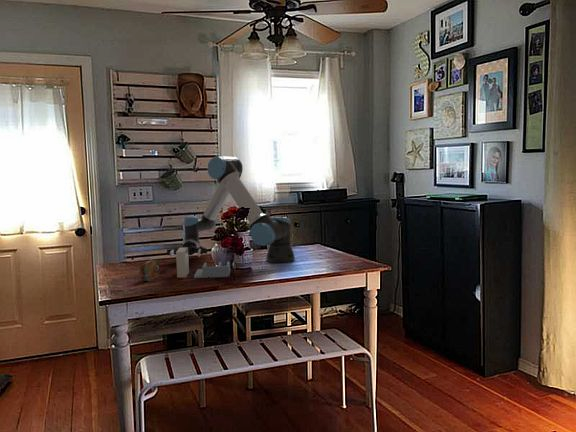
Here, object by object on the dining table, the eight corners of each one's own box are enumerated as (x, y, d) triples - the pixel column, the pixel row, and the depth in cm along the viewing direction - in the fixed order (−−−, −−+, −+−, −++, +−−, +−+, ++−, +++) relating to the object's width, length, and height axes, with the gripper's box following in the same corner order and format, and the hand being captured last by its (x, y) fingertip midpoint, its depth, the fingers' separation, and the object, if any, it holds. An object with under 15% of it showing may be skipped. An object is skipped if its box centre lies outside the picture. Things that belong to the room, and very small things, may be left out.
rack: (230, 269, 243) (230, 259, 243) (229, 276, 227) (228, 266, 227) (197, 270, 242) (197, 261, 241) (193, 278, 226) (193, 267, 225)
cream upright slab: (189, 271, 241) (187, 247, 239) (185, 277, 229) (184, 251, 227) (180, 272, 240) (179, 247, 239) (177, 277, 228) (176, 252, 227)
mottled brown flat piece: (145, 283, 219) (144, 264, 218) (139, 283, 219) (138, 264, 219) (161, 275, 233) (160, 258, 233) (154, 275, 234) (153, 257, 233)
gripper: (213, 253, 266) (210, 261, 245) (166, 254, 264) (159, 262, 243) (213, 239, 265) (210, 246, 244) (166, 241, 263) (159, 247, 242)
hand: (185, 254), depth 243 cm, fingers open, 13 cm apart
